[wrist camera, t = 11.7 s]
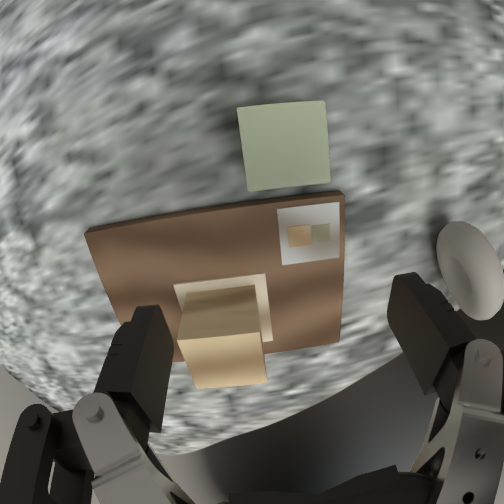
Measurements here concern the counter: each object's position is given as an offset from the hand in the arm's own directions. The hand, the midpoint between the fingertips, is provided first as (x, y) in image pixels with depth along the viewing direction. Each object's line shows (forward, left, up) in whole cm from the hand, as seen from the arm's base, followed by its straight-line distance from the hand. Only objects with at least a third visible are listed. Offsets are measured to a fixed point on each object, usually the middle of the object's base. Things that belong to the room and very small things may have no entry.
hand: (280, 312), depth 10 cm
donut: (+8, +19, -16) cm, 26 cm away
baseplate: (+9, -4, -15) cm, 18 cm away
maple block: (+11, -4, -14) cm, 18 cm away
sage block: (-4, +2, -15) cm, 16 cm away
